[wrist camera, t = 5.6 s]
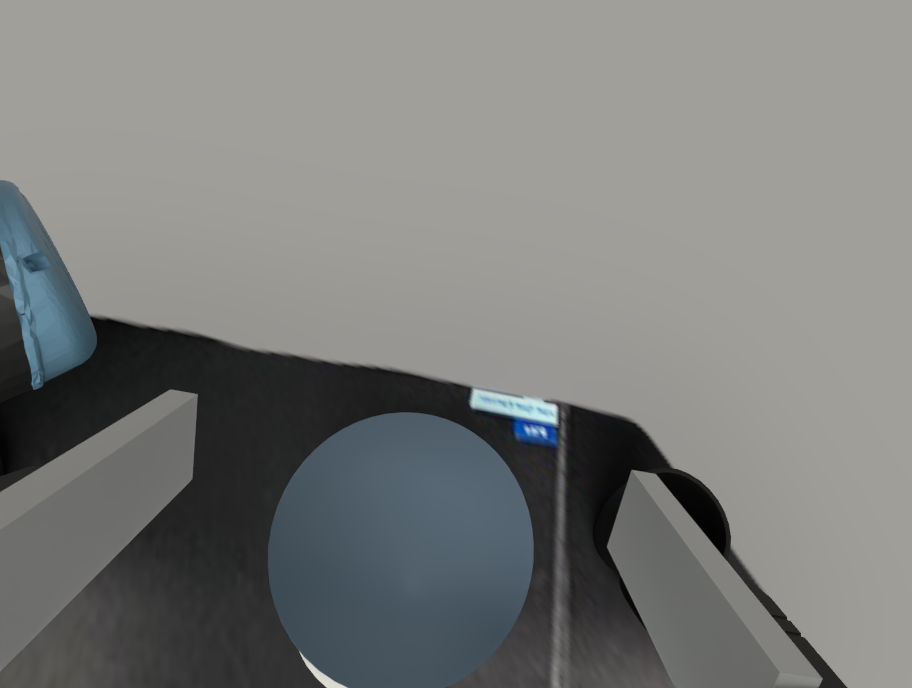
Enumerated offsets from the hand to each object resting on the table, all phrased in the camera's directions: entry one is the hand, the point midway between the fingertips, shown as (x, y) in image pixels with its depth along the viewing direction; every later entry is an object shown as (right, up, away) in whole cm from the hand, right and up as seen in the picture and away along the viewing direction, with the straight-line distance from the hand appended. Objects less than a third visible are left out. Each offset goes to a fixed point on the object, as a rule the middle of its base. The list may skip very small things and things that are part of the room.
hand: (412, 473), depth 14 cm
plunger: (-2, -6, +6) cm, 9 cm away
